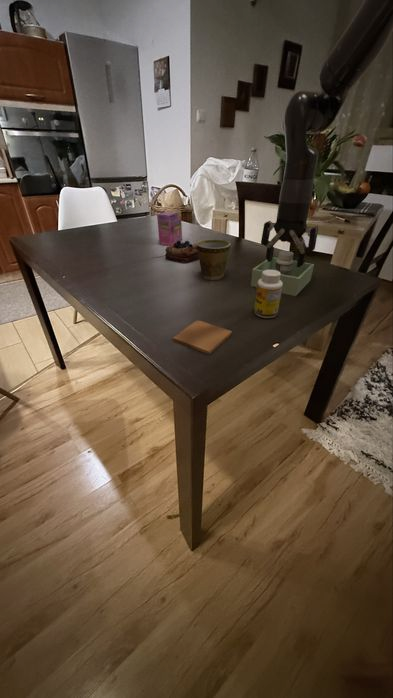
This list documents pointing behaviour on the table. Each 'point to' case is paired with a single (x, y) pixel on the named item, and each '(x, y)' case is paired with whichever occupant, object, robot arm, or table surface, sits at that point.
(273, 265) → the bin
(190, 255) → the pastry
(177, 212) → the box
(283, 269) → the pill bottle
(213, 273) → the ceramic cup
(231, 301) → the table surface
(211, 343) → the cork mat
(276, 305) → the supplement bottle
